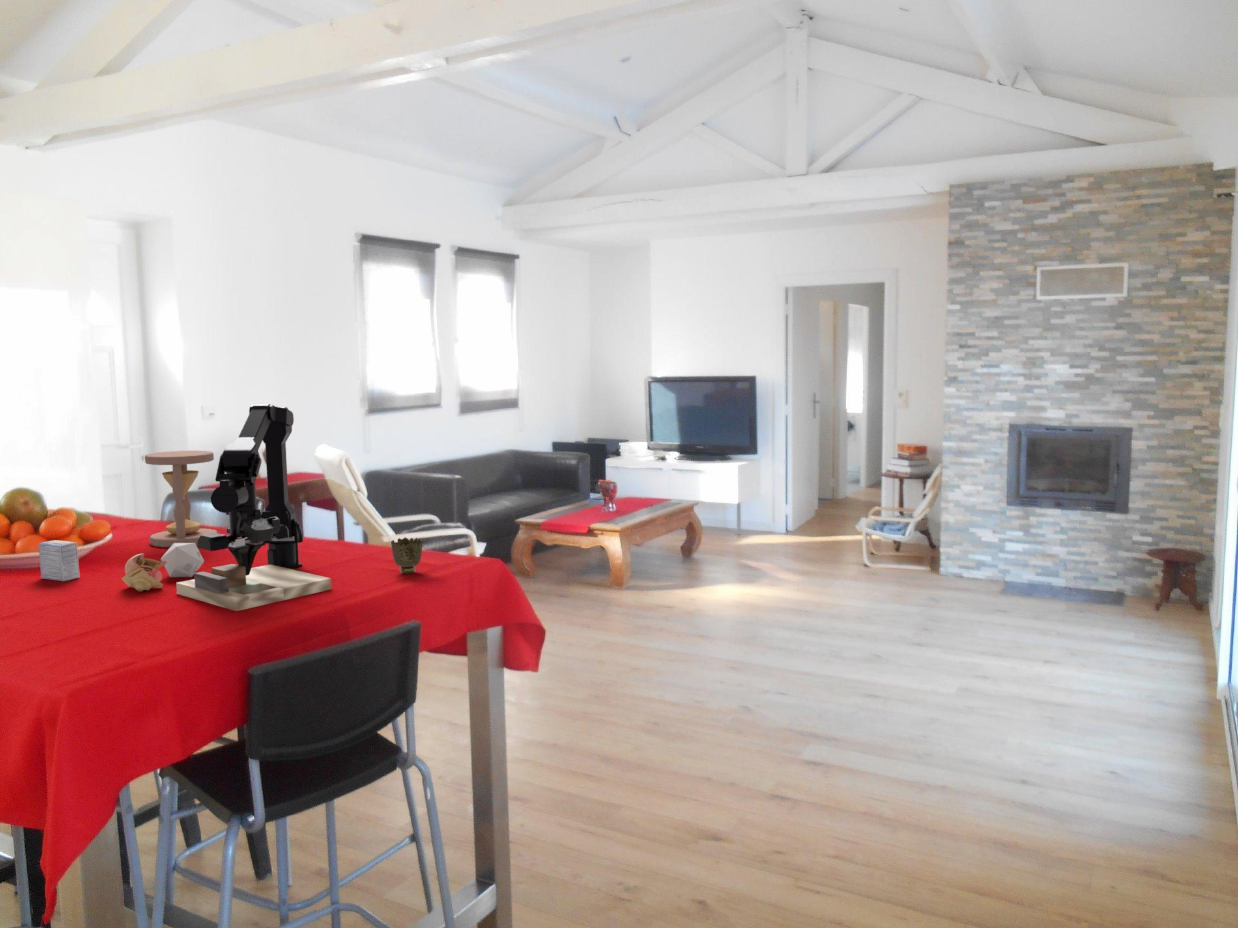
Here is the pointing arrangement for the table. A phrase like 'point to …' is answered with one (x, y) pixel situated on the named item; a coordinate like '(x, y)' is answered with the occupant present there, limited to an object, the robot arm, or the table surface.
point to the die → (182, 560)
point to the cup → (407, 554)
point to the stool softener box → (59, 560)
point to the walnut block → (231, 574)
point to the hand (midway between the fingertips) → (246, 575)
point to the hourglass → (180, 496)
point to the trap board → (253, 587)
